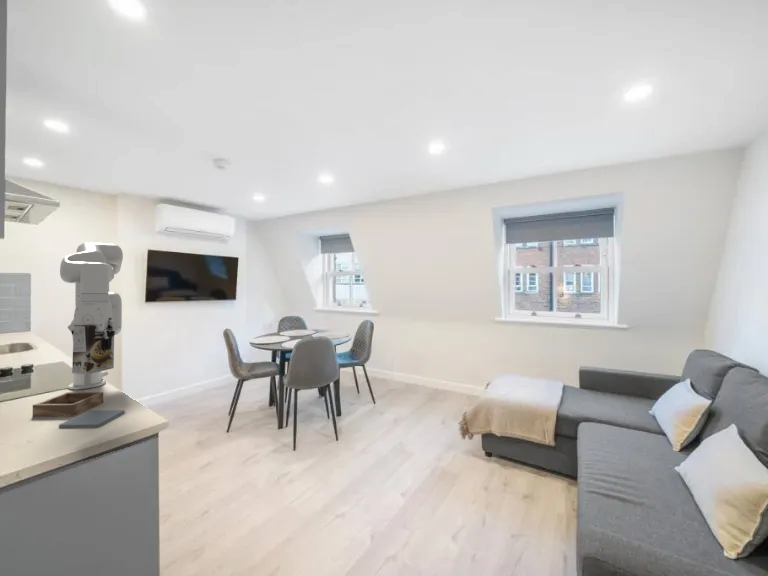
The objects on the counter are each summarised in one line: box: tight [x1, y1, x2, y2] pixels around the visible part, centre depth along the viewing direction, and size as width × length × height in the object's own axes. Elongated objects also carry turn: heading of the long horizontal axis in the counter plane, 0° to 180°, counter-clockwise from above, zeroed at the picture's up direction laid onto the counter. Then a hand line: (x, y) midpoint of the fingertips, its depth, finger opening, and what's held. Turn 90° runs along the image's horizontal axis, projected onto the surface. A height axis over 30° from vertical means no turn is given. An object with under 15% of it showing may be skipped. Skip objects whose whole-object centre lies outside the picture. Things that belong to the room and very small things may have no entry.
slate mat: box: [58, 409, 126, 429], centre depth 112 cm, size 12×12×1 cm
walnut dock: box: [32, 391, 104, 418], centre depth 121 cm, size 13×13×4 cm
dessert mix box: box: [71, 325, 115, 375], centre depth 112 cm, size 9×6×16 cm
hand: (94, 349), depth 112 cm, fingers closed on dessert mix box, 7 cm apart
